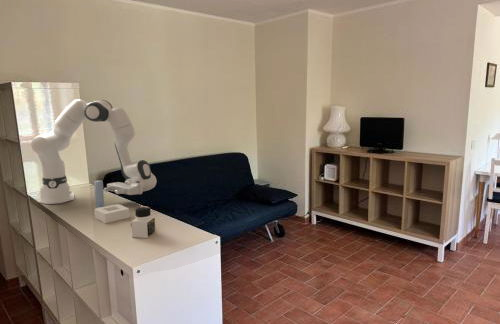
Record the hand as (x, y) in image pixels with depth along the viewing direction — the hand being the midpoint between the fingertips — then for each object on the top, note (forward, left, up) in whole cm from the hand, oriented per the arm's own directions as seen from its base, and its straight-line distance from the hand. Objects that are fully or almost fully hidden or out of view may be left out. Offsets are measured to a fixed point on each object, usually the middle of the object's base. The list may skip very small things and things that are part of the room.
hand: (110, 191), depth 182 cm
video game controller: (+36, +15, -10) cm, 40 cm away
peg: (+4, -5, -9) cm, 11 cm away
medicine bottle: (+46, +16, -10) cm, 49 cm away
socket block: (+17, +1, -9) cm, 19 cm away
